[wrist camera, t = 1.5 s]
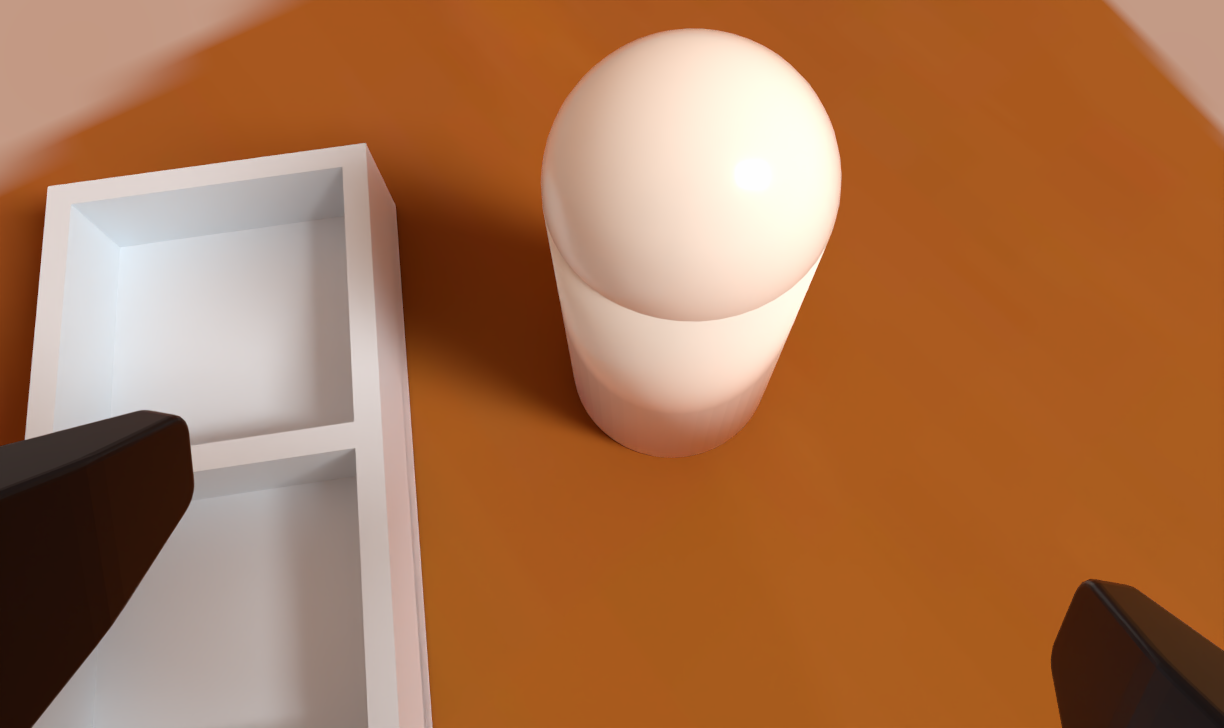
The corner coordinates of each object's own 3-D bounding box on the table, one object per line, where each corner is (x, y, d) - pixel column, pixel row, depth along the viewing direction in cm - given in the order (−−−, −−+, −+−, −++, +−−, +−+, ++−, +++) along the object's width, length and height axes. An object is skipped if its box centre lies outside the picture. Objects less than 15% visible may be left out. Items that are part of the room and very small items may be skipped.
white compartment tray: (465, 1206, 17) (432, 1306, 14) (54, 1278, 17) (-63, 1395, 14) (395, 205, 25) (365, 142, 22) (114, 245, 25) (47, 186, 22)
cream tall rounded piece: (696, 496, 22) (753, 314, 11) (534, 386, 23) (453, 128, 13) (803, 342, 23) (939, 54, 13) (645, 244, 24) (654, -92, 14)
